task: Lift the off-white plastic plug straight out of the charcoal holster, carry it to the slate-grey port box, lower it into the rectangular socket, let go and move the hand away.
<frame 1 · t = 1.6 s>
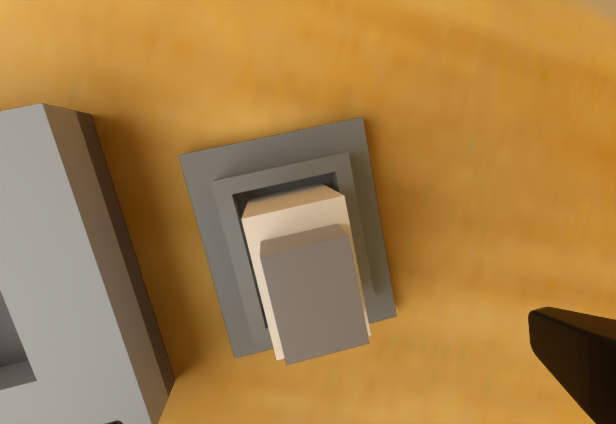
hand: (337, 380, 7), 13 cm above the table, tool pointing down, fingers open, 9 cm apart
plug: (296, 242, 19), point 1 cm above the table, touching holster
holster: (294, 237, 20), on the table
port: (7, 287, 19), on the table
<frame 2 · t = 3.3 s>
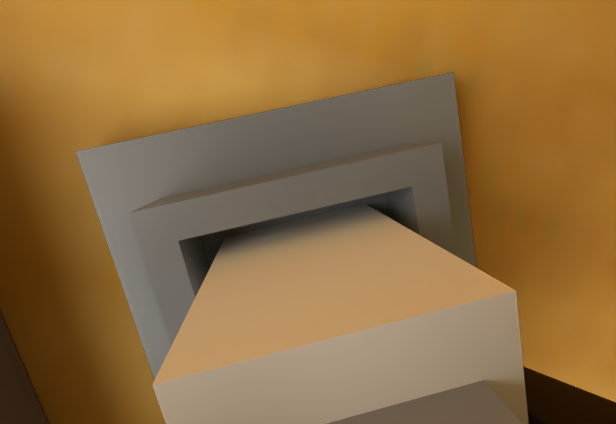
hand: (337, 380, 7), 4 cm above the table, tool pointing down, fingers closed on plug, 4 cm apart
plug: (318, 317, 10), point 1 cm above the table, touching gripper, holster
holster: (314, 302, 11), on the table
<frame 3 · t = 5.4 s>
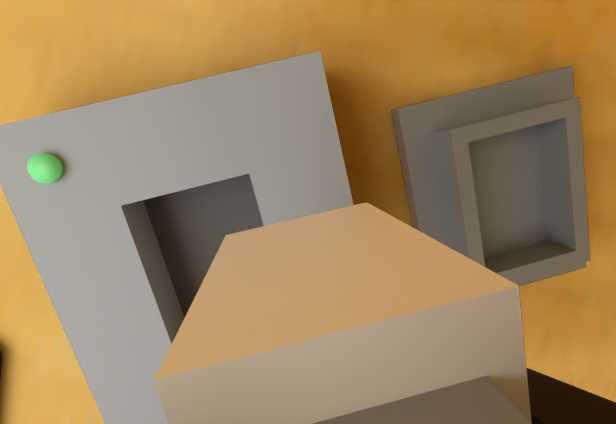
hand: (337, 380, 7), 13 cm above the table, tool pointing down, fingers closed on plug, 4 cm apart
plug: (319, 315, 10), point 10 cm above the table, touching gripper
holster: (488, 191, 21), on the table
port: (223, 245, 20), on the table
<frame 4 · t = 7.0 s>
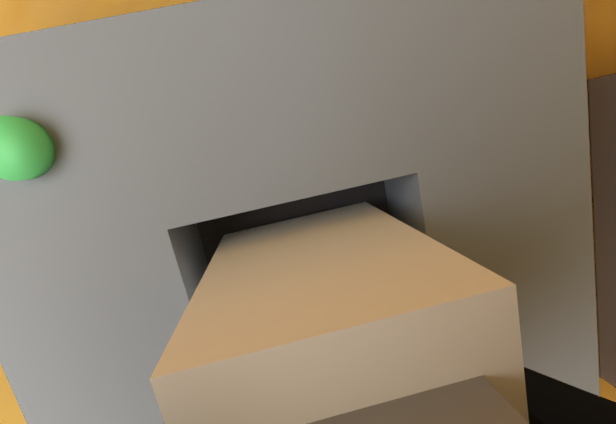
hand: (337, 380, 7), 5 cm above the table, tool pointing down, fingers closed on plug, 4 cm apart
plug: (317, 315, 10), point 2 cm above the table, touching gripper
port: (309, 287, 12), on the table
when the fingers open (5 cm above the table, at t = 8.0 s): plug stays where it is, resting on port.
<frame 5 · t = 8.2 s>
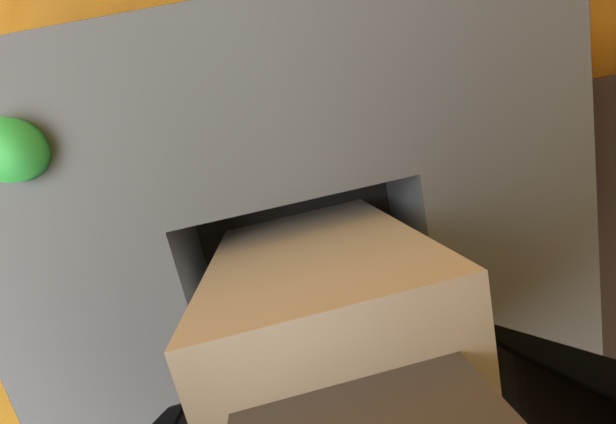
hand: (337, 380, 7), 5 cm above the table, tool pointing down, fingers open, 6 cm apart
plug: (315, 307, 11), point 1 cm above the table, touching port
port: (310, 289, 12), on the table
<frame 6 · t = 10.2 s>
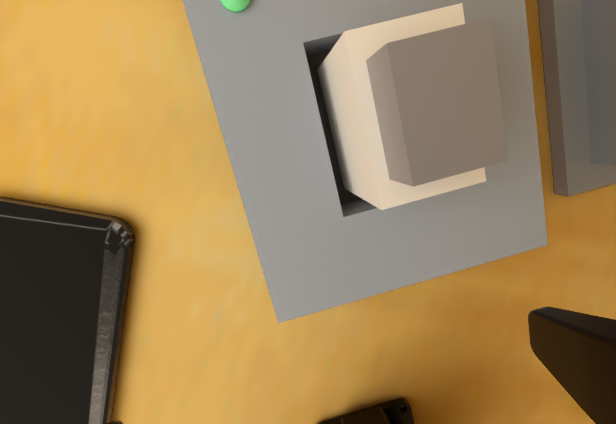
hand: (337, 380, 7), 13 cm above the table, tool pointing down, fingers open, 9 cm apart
phone: (52, 330, 20), on the table
plug: (368, 121, 18), point 1 cm above the table, touching port
port: (361, 123, 19), on the table
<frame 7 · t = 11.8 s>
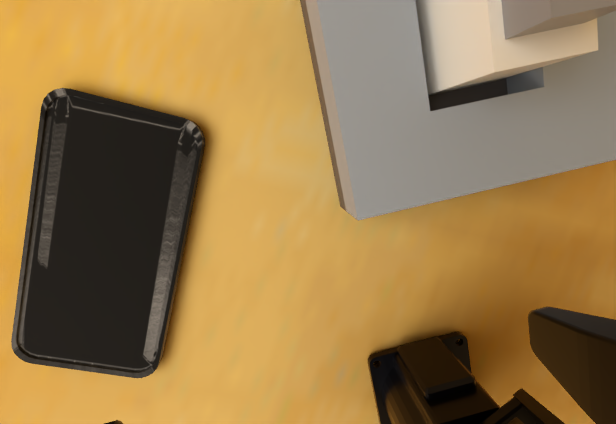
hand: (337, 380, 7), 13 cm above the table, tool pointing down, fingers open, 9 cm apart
phone: (114, 238, 20), on the table
plug: (449, 28, 18), point 1 cm above the table, touching port
port: (435, 38, 19), on the table
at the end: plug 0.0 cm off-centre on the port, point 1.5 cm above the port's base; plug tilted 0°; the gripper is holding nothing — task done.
